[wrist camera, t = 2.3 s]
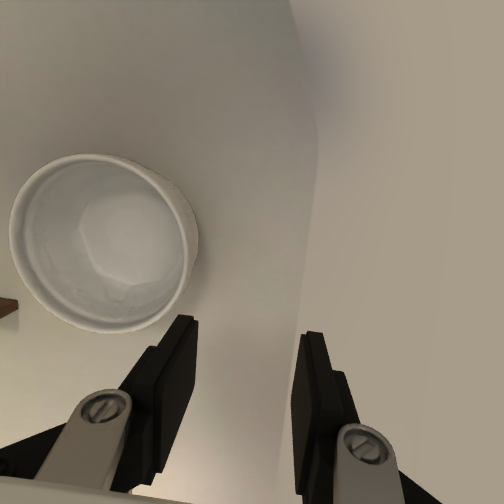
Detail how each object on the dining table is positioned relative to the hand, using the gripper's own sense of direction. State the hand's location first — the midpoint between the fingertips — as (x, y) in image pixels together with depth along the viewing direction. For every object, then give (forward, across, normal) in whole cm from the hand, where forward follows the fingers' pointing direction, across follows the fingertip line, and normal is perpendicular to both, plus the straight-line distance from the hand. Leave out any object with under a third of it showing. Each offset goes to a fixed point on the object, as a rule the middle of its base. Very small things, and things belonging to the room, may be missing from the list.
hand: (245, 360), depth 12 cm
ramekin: (+17, +12, 0) cm, 21 cm away
